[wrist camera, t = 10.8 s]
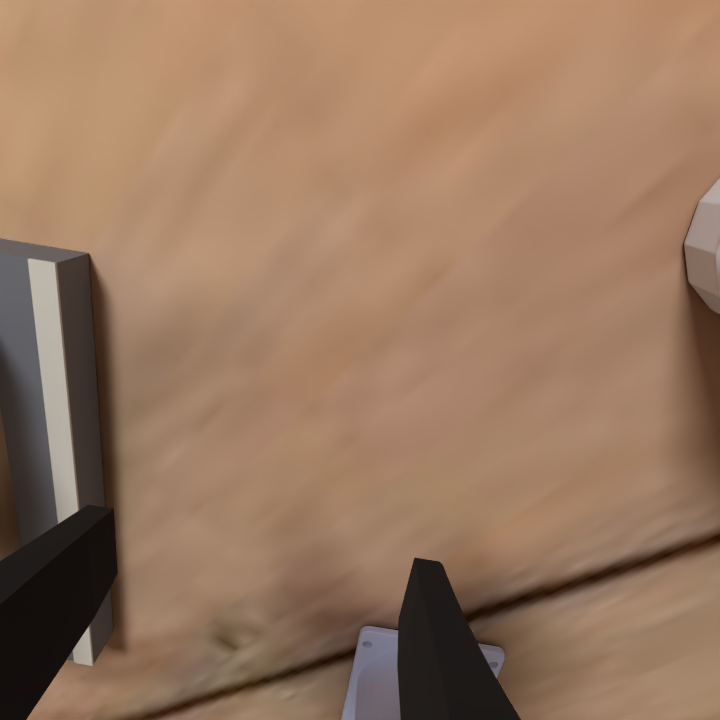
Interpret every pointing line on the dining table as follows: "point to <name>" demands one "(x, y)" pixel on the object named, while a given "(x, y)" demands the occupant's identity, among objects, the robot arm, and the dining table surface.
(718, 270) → the white cup
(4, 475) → the brown notched bar
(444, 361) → the dining table surface
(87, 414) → the dock
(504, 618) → the dining table surface
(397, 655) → the robot arm
